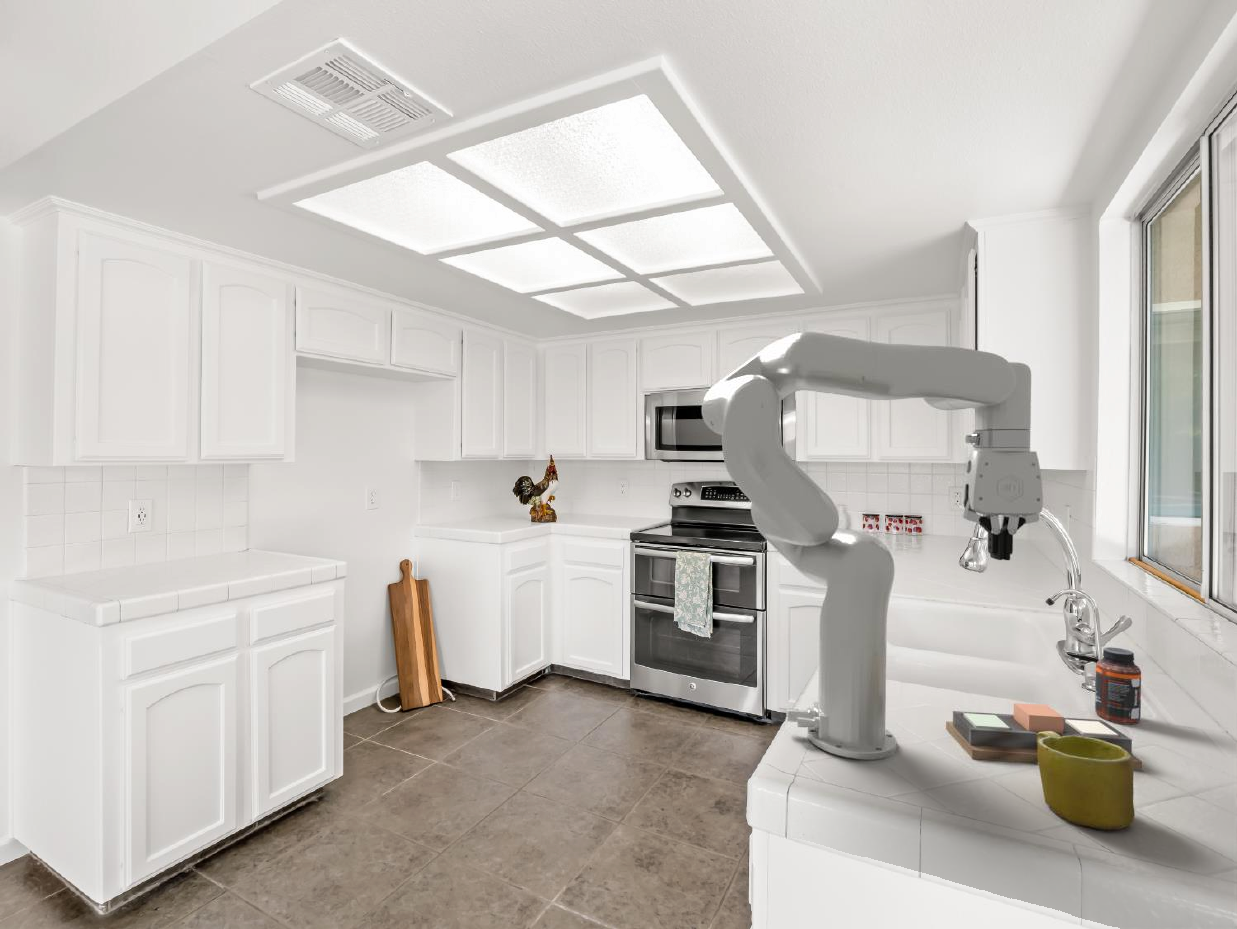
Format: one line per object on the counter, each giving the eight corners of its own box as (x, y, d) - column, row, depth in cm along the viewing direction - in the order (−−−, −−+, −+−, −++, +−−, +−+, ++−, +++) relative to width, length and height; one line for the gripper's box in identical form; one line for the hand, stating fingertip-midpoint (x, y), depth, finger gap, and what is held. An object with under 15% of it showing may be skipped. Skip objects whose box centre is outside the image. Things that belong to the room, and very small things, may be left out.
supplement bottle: (1149, 727, 102) (1150, 657, 102) (1107, 724, 103) (1108, 654, 103) (1127, 713, 108) (1128, 646, 108) (1087, 709, 109) (1088, 644, 109)
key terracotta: (1028, 731, 92) (1029, 715, 92) (1013, 718, 97) (1013, 703, 97) (1063, 733, 91) (1063, 717, 91) (1046, 720, 96) (1046, 704, 96)
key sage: (975, 742, 93) (976, 725, 93) (963, 728, 98) (963, 713, 98) (1009, 744, 92) (1009, 727, 92) (995, 730, 97) (995, 715, 97)
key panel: (972, 758, 91) (972, 734, 91) (946, 729, 100) (946, 706, 100) (1142, 770, 88) (1142, 745, 88) (1097, 738, 98) (1098, 715, 97)
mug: (1177, 830, 70) (1136, 736, 72) (1078, 849, 72) (1042, 756, 74) (1119, 796, 82) (1085, 716, 84) (1035, 812, 83) (1005, 733, 86)
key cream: (1082, 749, 91) (1083, 732, 91) (1064, 735, 96) (1065, 719, 96) (1118, 751, 90) (1118, 734, 90) (1098, 737, 95) (1098, 721, 95)
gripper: (960, 441, 97) (959, 561, 97) (1066, 442, 95) (1064, 564, 95) (942, 442, 105) (941, 554, 105) (1040, 443, 103) (1038, 556, 103)
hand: (1000, 558), depth 100 cm, fingers closed
